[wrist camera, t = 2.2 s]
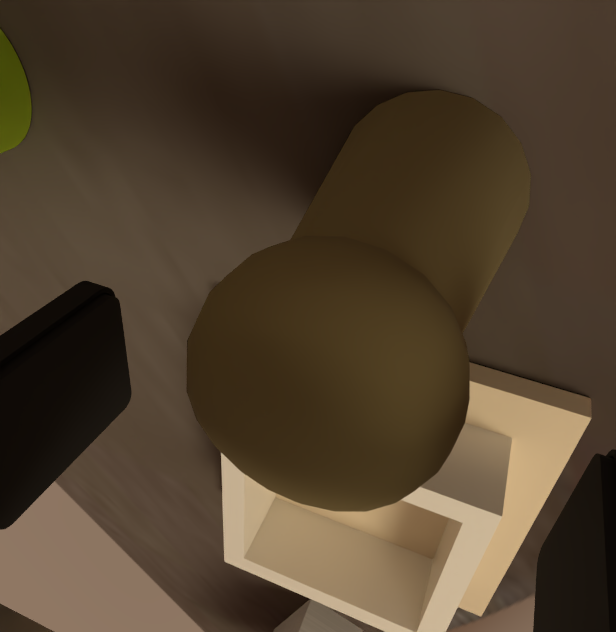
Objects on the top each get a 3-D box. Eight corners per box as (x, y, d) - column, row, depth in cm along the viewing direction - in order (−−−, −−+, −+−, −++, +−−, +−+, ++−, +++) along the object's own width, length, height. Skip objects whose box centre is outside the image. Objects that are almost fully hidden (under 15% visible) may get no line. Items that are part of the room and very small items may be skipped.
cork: (470, 305, 19) (386, 607, 11) (313, 228, 20) (118, 456, 11) (575, 143, 15) (572, 420, 7) (374, 54, 16) (145, 207, 7)
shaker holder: (229, 290, 23) (167, 356, 19) (590, 398, 19) (593, 501, 16) (231, 496, 31) (189, 566, 28) (483, 597, 28) (470, 692, 24)
